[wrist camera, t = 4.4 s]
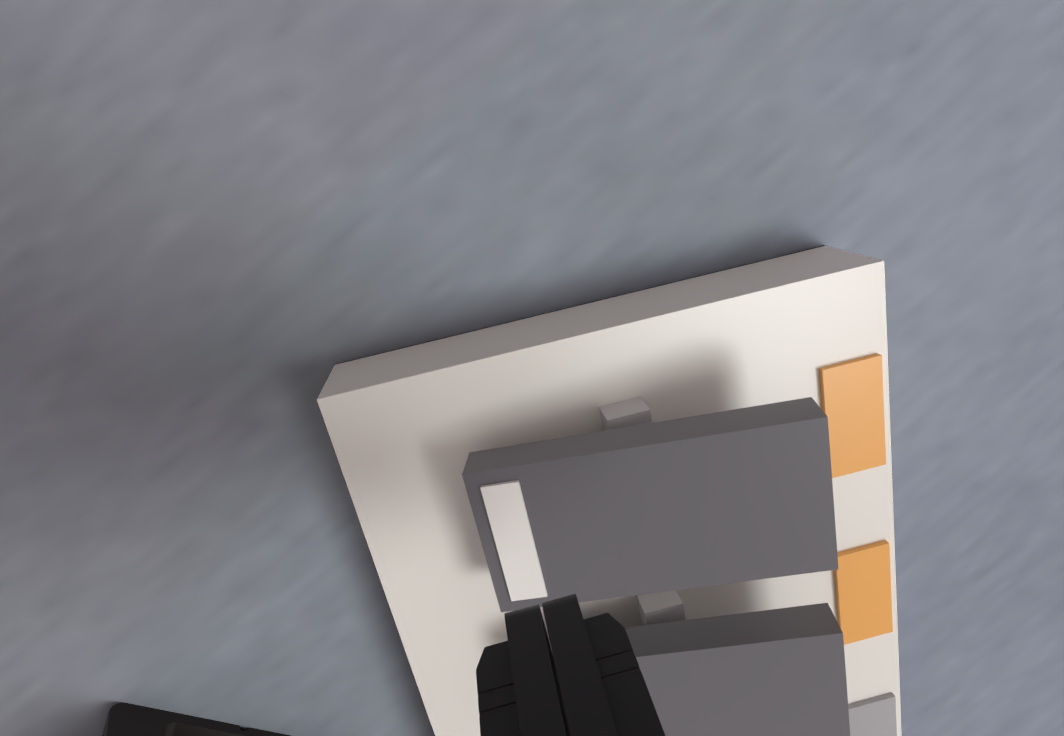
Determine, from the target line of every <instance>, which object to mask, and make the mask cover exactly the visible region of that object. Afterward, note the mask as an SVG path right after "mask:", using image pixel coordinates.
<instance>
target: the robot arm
mask: <svg viewBox="0 0 1064 736" xmlns="http://www.w3.org/2000/svg"><path fill="white" fill-rule="evenodd" d="M542 607H543V612H544V616H545V621H546V625H547V630H548V634H549V639H550V642H549V639H548V635H547V631H546V628H545V624H544V620H543V617H542V613H541V609H540V606H539V604H536V605H533V606H529V607H525V608H522V609H518V610H515V611H511V612H507V613H505V614H504V616H505V624H506V631H507V639H508V641H505V642H501V643H497V644H494V645H490V646H487V647H485V648H484V650H483V653H482V655H481V658H480V660H479V663H478V666H477V668H476V679H477V693H478V707H479V715H480V717H479V721H480V735H481V736H665V733H664V730H663V728H662V725H661V723H660V720H659V717H658V715H657V712H656V709H655V707H654V704H653V701H652V699H651V696H650V693H649V691H648V688H647V685H646V683H645V680H644V677H643V675H642V672H641V670H640V667H639V664H638V662H637V659H636V656H635V654H634V652H633V648H632V646H631V643H630V640H629V638H628V635H627V632H626V630H625V628H624V627H623V626H622V625H621V624H620V623H619V622H618V621H617V620H616V619H614V618H613V617H612V616H611V615H610V614H609V613H604V614H601V615H597V616H594V617H590V618H586V619H583V616H582V613H581V610H580V606H579V603H578V599H577V596H576V594H572V595H568V596H565V597H561V598H557V599H554V600H550V601H547V602H543V603H542ZM550 643H551V646H550ZM551 648H552V650H551Z"/></svg>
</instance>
